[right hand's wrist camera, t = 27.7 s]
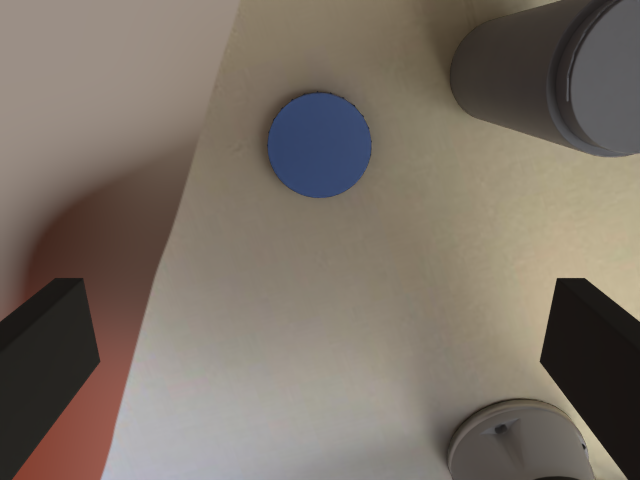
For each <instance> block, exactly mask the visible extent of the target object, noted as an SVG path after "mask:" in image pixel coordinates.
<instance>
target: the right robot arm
mask: <svg viewBox="0 0 640 480" xmlns="http://www.w3.org/2000/svg"><path fill="white" fill-rule="evenodd" d="M99 363H100V358H99V353H98V348H97V344H96V339H95V334H94V329H93V324H92V319H91V314H90V310H89V305H88V300H87V295H86V290H85V285H84V281H83V278H55V279H54V280H52V281H51V282H50V283H49V284H47V285H46V286H45V287H44V288H42V289H41V290H40V291H39V292H37V293H36V294H35V295H33V296H32V297H31V298H30V299H28V300H27V301H26V302H25V303H23V304H22V305H21V306H20V307H18V308H17V309H16V310H15V311H13V312H12V313H11V314H10V315H8V316H7V317H6V318H4V319H3V320H2V321H1V322H0V480H12V479H13V477H14V476H15V475H16V473H17V472H18V471H19V469H20V468H21V467H22V465H23V464H24V463H25V461H26V460H27V459H28V457H29V456H30V455H31V453H32V452H33V451H34V449H35V448H36V447H37V445H38V444H39V443H40V441H41V440H42V439H43V437H44V436H45V435H46V433H47V432H48V431H49V429H50V428H51V427H52V425H53V424H54V423H55V421H56V420H57V419H58V417H59V416H60V415H61V413H62V412H63V411H64V409H65V408H66V407H67V405H68V404H69V403H70V401H71V400H72V399H73V397H74V396H75V395H76V393H77V392H78V391H79V389H80V388H81V387H82V385H83V384H84V383H85V381H86V380H87V379H88V377H89V376H90V375H91V373H92V372H93V371H94V369H95V368H96V367H97V365H98V364H99ZM540 363H541V364H542V365H543V367H544V368H545V369H546V371H547V372H548V373H549V375H550V376H551V377H552V379H553V380H554V381H555V383H556V384H557V385H558V387H559V388H560V389H561V391H562V392H563V393H564V395H565V396H566V397H567V399H568V400H569V401H570V403H571V404H572V405H573V407H574V408H575V409H576V411H577V412H578V413H579V415H580V416H581V417H582V419H583V420H584V421H585V423H586V424H587V425H588V427H589V428H590V429H591V431H592V432H593V433H594V435H595V436H596V437H597V439H598V440H599V441H600V443H601V444H602V445H603V447H604V448H605V449H606V451H607V452H608V453H609V455H610V456H611V457H612V459H613V460H614V461H615V463H616V464H617V465H618V467H619V468H620V469H621V471H622V472H623V473H624V475H625V476H626V477H627V479H628V480H640V322H639V321H638V320H637V319H636V318H634V317H633V316H632V315H630V314H629V313H628V312H627V311H625V310H624V309H623V308H622V307H620V306H619V305H618V304H617V303H615V302H614V301H613V300H612V299H610V298H609V297H608V296H607V295H605V294H604V293H603V292H601V291H600V290H599V289H598V288H596V287H595V286H594V285H593V284H591V283H590V282H589V281H588V280H586V279H585V278H557V281H556V285H555V290H554V295H553V300H552V305H551V310H550V314H549V319H548V324H547V329H546V334H545V339H544V344H543V348H542V353H541V358H540ZM447 460H448V466H449V469H450V473H451V476H452V479H453V480H595V476H594V473H593V470H592V467H591V465H590V463H589V455H588V450H587V447H586V444H585V441H584V439H583V437H582V435H581V433H580V431H579V430H578V428H577V427H576V426H575V424H574V423H573V421H572V420H571V419H570V418H569V417H568V415H566V414H565V413H564V412H563V411H561V410H560V409H558V408H556V407H555V406H552V405H550V404H547V403H544V402H540V401H535V400H511V401H505V402H501V403H497V404H494V405H491V406H489V407H487V408H484V409H482V410H481V411H479V412H477V413H475V414H474V415H472V416H471V417H470V418H468V419H467V420H466V421H465V422H464V423H463V424H462V425H461V426H460V427H459V428H458V430H457V431H456V432H455V434H454V436H453V437H452V440H451V442H450V445H449V448H448V454H447Z"/></svg>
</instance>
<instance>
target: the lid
mask: <svg viewBox="0 0 640 480" xmlns="http://www.w3.org/2000/svg"><path fill="white" fill-rule="evenodd" d="M363 117H364V116H363V115H361V114H360V112H359V111H358V110H357V109H356V108H355V105H352V104H351V103H349V102H348V101H347V100H345V99H344V97H342V98H341V97H339V96H337V95H334V94H332V93H322V92H318V91H317V93H309V94H303V95H302V96H300V97H298V98H296V99H294V100H293V99H292V100H291V102H289V103H288V104H287V105H286V106H285V107H284V108H283V107H282V108H281V111H280V112H279V114H278V115H277V116H276V118H274V120H273V124H272V126H271V129H270V131H269V136H268V145H267V146H268V155H269V159H270V163H271V165H272V168H273V170H274V172H275V173H276V175H277V176H278V178H279V179H280V180H281V181H282V182H283V183H284V184H285V185H286V186H287V187H288V188H290V189H292V190H293V191H295V192H297V193H299V194H301V195H304V196H308V197H314V198H325V197H331V196H335V195H338V194H340V193H342V192H344V191H346V190H347V189H349V188H350V187H352V186H353V185H354V184H355V183H356V182H357V181H358V180H359V179H360V177H361V176H362V175H363V173H364V171H365V170H366V168H367V165H368V163H369V159H370V155H371V142H372V141H371V137H370V132H369V127H368V126H367V124H366V122H365V120H364V118H363Z"/></svg>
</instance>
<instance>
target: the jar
mask: <svg viewBox="0 0 640 480" xmlns="http://www.w3.org/2000/svg"><path fill="white" fill-rule="evenodd" d="M450 83H451V89H452V92H453V95H454V97H455V99H456V101H457V102H458V104H459V105H460V106H461V108H462V109H463V110H464V111H466V112H467V113H468V114H470V115H471V116H473V117H475V118H478V119H481V120H484V121H487V122H490V123H494V124H497V125H500V126H503V127H506V128H509V129H512V130H516V131H519V132H522V133H525V134H528V135H531V136H534V137H537V138H541V139H544V140H547V141H550V142H553V143H556V144H559V145H563V146H566V147H569V148H572V149H575V150H578V151H581V152H585V153H588V154H591V155H595V156H601V157H622V156H628V155H632V154H637V153H640V0H561V1H557V2H554V3H550V4H547V5H543V6H539V7H536V8H532V9H529V10H525V11H522V12H518V13H515V14H511V15H507V16H504V17H500V18H497V19H493V20H490V21H487V22H485V23H483V24H481V25H479V26H478V27H476V28H475V29H474V30H472V31H471V32H470V33H469V34H468V35H467V36H466V37H465V38H464V39H463V41H462V42H461V43H460V45H459V47H458V48H457V50H456V52H455V55H454V57H453V60H452V64H451V70H450Z"/></svg>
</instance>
